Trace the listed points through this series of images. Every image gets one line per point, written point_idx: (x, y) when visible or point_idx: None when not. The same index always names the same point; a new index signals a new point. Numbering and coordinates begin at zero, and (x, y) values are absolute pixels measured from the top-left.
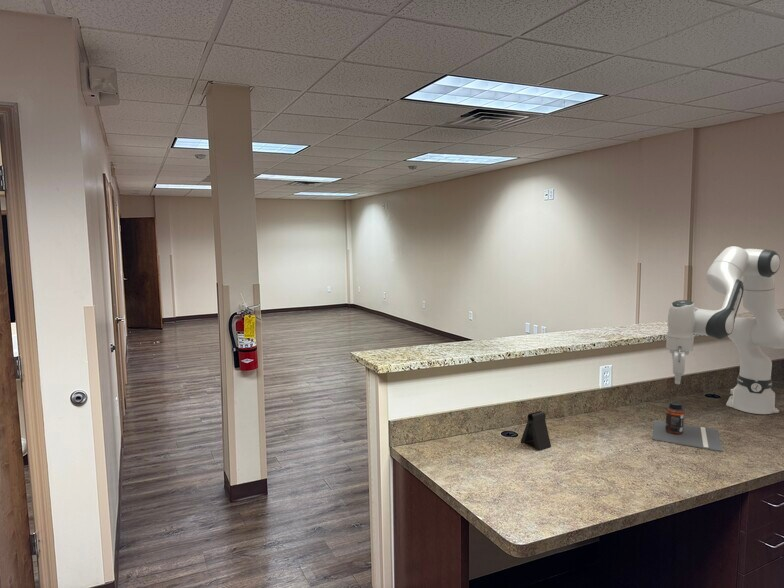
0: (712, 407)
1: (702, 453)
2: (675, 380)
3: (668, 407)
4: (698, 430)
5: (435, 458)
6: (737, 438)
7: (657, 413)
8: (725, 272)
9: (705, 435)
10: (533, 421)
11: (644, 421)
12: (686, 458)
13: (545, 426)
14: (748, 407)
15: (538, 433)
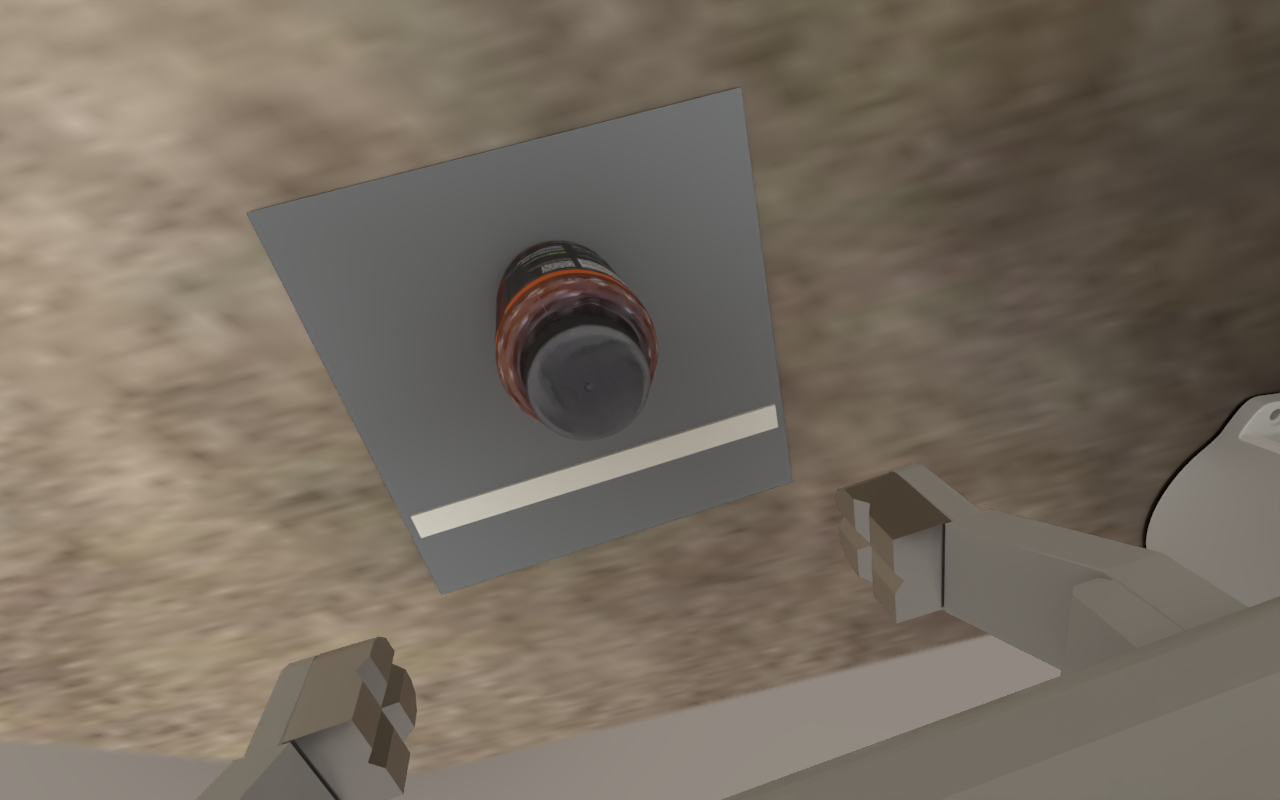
0: (1201, 347)
1: (314, 531)
2: (261, 732)
3: (572, 296)
4: (703, 411)
5: None
6: (720, 575)
7: (940, 63)
8: None
9: (627, 468)
10: None
11: (671, 16)
12: (120, 496)
13: None
14: (1190, 520)
15: None
